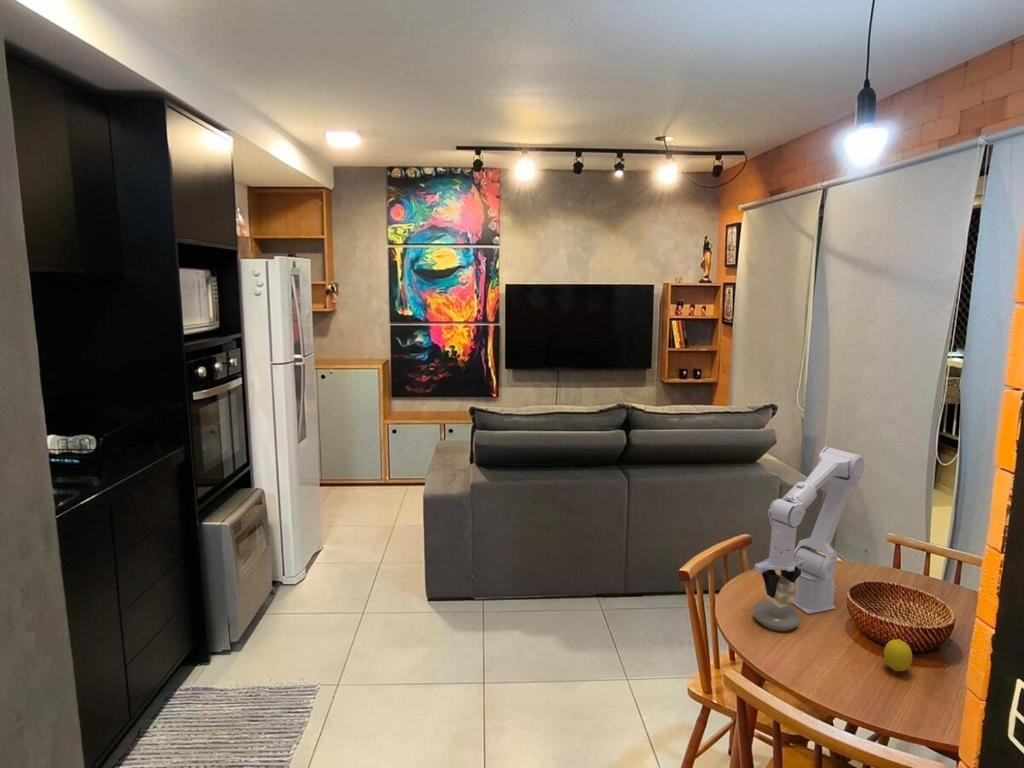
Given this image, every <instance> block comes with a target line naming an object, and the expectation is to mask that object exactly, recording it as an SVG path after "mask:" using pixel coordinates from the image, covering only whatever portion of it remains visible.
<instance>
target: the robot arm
mask: <svg viewBox="0 0 1024 768" xmlns="http://www.w3.org/2000/svg"><path fill="white" fill-rule="evenodd" d="M816 463H817V464H816V466H815V467H814V468H813V470H812V471H811V472H810V474H809V475H808V476H807V478H806V479H805V480H804V481H798V482H796V483H795V484H794V485H793V487H791V489H789V491H787V493H786V494H784V495H783V496H782V498H777V499H774V500H773V501H772V502H771V503H770V505H769V509H768V511H767V516H768V517H769V525H770V527H771V533H770V534H771V535H770V547H769V556H768V558H766V559H764V560H762V561H760V562H757V563H755V564H754V570H753V571H754V572H755V573H757V574H759V575H761V576H762V579H763V582H764V585H765V586H766V591H767V595H769V596H770V597H771V598H774V597H775V593H776V587H777V583H778V581H779V579H780V576H779V575H777V574H776V573H777V572H776V571H780V575H782V576H783V577H785V578H786V579H788V580H789V581H791V582H792V583H794V584H795V589H794V595H793V604H792V605H795V606H796V607H797V608H799V609H800V610H802V612H804V613H806V614H808V615H809V614H815V613H819V612H820V613H821V612H825V611H830V610H834V609H836V606H835V605H834V602H835V601H834V599H835V590H836V582H835V579H834V578H833V576H834V574H835V572H836V566H837V561H838V554H837V553H836V551H835V550H834V548H833V546H832V545H831V543H832V541H833V539H834V535H835V533H836V530H837V528H838V525H839V523H840V520H841V517H842V515H843V512H844V509H845V506H846V504H847V502H848V499H849V497H850V493H851V490H852V489H853V488H855V487H858V485H859V483H860V480H861V478H862V475H863V472H864V470H865V460H864V458H863V456H862V455H861V454H859V453H852V452H848V451H844V450H841V449H837V448H833V447H830V446H825V447H823V448H822V449H821V451H820V452H819V453H818V457H817V462H816ZM828 481H829V483H830V485H829V487H828V491H827V492H826V493H827V494H826V496H825V498H824V501H823V503H822V506H821V509H820V511H819V514H818V517H817V520H816V522H815V524H814V528H813V530H812V532H811V535H810V536H809V537H807V538H803V539H801V540H799V542H798V544H797V545H796V540H797V539H796V537H797V527H798V526H799V525H800V524H801V523H802V520H803V518H804V516H805V514H806V513H807V512H806V509H808V507H809V506H810V505H811V504H812V503H813V502H814V501H815V499H817V497H818V494H817V491H818V490H819V489H820V488H821V487H822V486H824V485H825V484H826V483H827V482H828ZM795 546H796V547H795ZM814 550H815V551H814ZM816 551H817V552H816ZM819 552H820V553H819Z"/></svg>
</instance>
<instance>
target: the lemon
mask: <svg viewBox="0 0 1024 768" xmlns="http://www.w3.org/2000/svg"><path fill="white" fill-rule="evenodd" d="M883 658H884V659H883V660H884V662H885V663H886V665H887V666H888V667H889V668H890V669H891V670H893V671H894V672H896V673H898V672H904V671H907V670H908V669H909V668H910V667H911V666H912V665H911V664H912V663H913V653H912V649H911V647H910V646H909V645H908V644H907V643H906V642H905V641H903V640H902V639H900V638H899V639H891V640H889V641H888V642H887V643H886V644H885V647H884V649H883Z"/></svg>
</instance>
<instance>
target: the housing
mask: <svg viewBox="0 0 1024 768" xmlns="http://www.w3.org/2000/svg"><path fill="white" fill-rule="evenodd" d="M776 574H777V575H779V576H780V579H779V581H778V583H777V587H776V593H775V597H774V598H771V597H770V596H769V595H767V591H766V586H765V584H764V585H763V586H764V587H763V597H764V598H765V599H767V600H768V601H769V602H772V603H774V604H775V605H776V606H778V607H779V608H781V607H787V606H788V607H791V606H793V605H794V604H793V596H794V595H795V582H794V583H792V582H791V581H789V580H788V579H786V578H785V577H783V576H782V575H781V573H778V572H776Z"/></svg>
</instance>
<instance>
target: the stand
mask: <svg viewBox="0 0 1024 768" xmlns="http://www.w3.org/2000/svg"><path fill="white" fill-rule="evenodd" d="M752 614H753V617H754V618H755V619H756V620H757V622H758V621H759V622H760V623H761V624H762V626H763V627H765V628H766V627H767V628H766V629H769V630H771V629H772V631H775V630H776V631H775V632H789V631H791V630H793V629H794V628H796V627H798V625H799V624H800V615H799V613H798V612H797V611H796V610H795V609H793V608H792V607H791V606H787V607H781V608H779V607H778V606H776V605H775V604H774V603H772V602H771V601H769V600H768V601H760V602H757V603H755V605H754V606H753V613H752ZM759 622H758V623H759ZM760 623H759V624H760ZM761 624H760V625H761Z"/></svg>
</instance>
